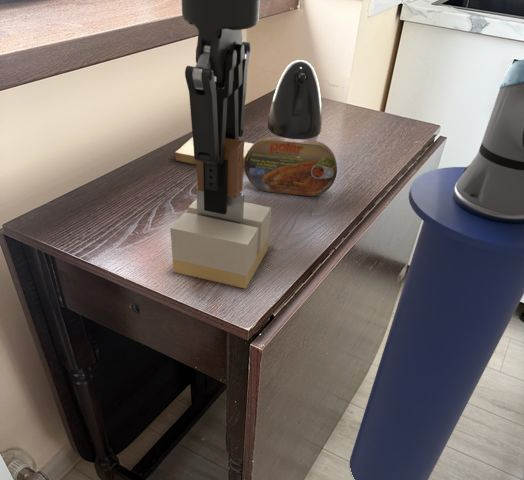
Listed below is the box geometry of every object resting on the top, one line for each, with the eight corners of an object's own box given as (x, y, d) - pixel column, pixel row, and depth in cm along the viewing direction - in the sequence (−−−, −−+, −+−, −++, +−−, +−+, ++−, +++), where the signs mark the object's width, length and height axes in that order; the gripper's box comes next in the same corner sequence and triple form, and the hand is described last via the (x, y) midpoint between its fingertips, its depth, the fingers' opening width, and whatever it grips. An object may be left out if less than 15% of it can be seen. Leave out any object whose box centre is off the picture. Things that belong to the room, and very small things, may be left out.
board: (255, 151, 96) (255, 144, 95) (238, 172, 89) (238, 164, 88) (196, 141, 98) (196, 133, 97) (175, 160, 91) (174, 152, 90)
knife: (244, 246, 68) (248, 141, 58) (238, 256, 66) (241, 149, 57) (202, 237, 69) (199, 132, 59) (195, 246, 67) (191, 140, 58)
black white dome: (266, 157, 95) (273, 67, 84) (265, 136, 102) (271, 51, 92) (321, 160, 95) (333, 71, 85) (315, 139, 103) (326, 54, 92)
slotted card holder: (268, 249, 72) (271, 207, 67) (245, 288, 65) (247, 244, 60) (202, 235, 73) (201, 193, 69) (173, 272, 66) (170, 227, 62)
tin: (242, 188, 85) (244, 138, 79) (245, 180, 87) (247, 130, 81) (332, 199, 84) (340, 149, 78) (333, 191, 86) (341, 141, 80)
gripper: (212, -39, 54) (213, 175, 70) (146, -21, 43) (166, 228, 59) (281, -31, 52) (266, 185, 68) (231, -10, 41) (227, 242, 57)
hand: (219, 205), depth 63 cm, fingers closed on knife, 2 cm apart
